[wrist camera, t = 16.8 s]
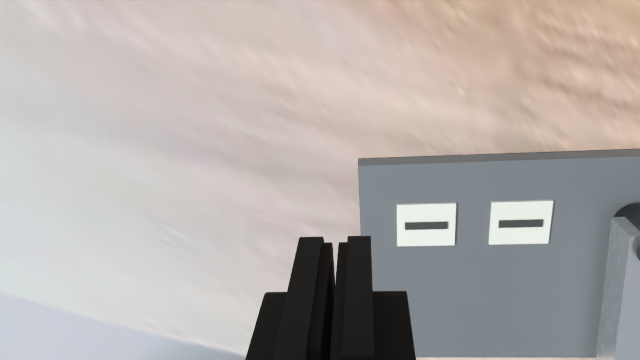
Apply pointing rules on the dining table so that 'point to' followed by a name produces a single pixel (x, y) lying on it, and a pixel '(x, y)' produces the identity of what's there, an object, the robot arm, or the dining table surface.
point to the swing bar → (621, 289)
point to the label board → (497, 246)
